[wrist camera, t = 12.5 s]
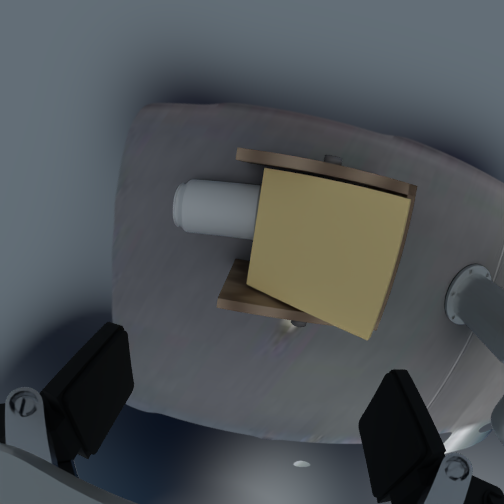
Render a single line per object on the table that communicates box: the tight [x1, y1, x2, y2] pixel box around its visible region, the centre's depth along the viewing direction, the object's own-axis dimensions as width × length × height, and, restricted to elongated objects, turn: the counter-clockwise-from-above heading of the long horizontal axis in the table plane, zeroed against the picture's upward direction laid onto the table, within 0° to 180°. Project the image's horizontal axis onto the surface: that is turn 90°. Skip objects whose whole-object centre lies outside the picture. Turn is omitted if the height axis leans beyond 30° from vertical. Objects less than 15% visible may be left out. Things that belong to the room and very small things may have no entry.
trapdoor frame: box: [217, 148, 417, 330], centre depth 35 cm, size 19×19×14 cm
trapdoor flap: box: [246, 168, 411, 340], centre depth 28 cm, size 16×14×1 cm
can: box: [173, 179, 261, 240], centre depth 38 cm, size 8×8×12 cm
